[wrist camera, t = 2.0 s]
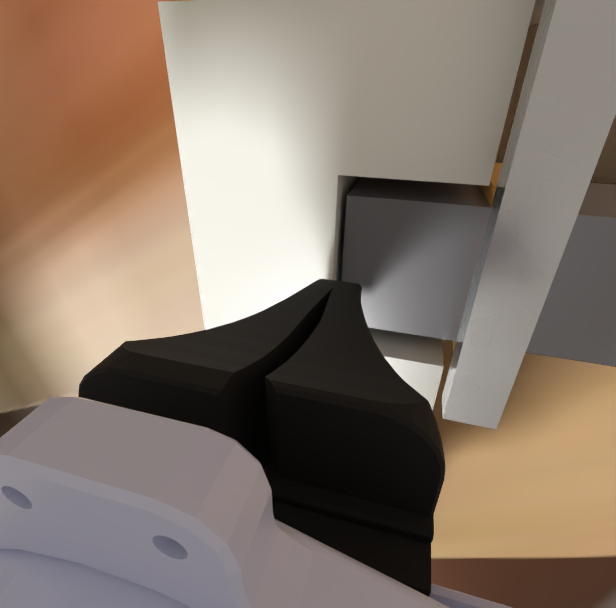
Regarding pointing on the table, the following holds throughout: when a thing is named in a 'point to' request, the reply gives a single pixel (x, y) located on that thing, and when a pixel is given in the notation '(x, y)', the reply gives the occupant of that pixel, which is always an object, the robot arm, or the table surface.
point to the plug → (474, 264)
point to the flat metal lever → (534, 202)
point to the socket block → (327, 131)
